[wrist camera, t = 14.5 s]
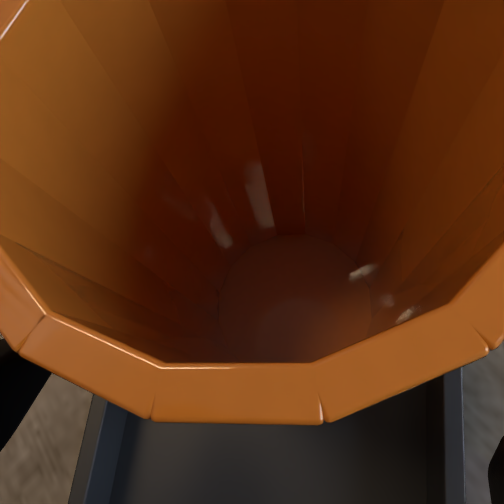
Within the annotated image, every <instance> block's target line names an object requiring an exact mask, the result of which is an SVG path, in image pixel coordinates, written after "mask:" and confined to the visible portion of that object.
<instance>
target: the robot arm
mask: <svg viewBox="0 0 504 504" xmlns="http://www.w3.org/2000/svg"><path fill="white" fill-rule="evenodd" d="M50 375H51V372H49V371H47V370H45V369H43V368H41V367H39V366H37V365H35V364H33V363H31V362H29V361H27V360H25V359H23V358H22V357H21V356H20V355H19V354H18V353H17V352H15V351H13V350H12V348H11V347H10V346H9V344H8V343H7V341H6V340H5V338H4V339H1V340H0V452H1V450H2V449H3V448H4V446H5V445H6V443H7V442H8V441H9V439H10V438H11V436H12V435H13V433H14V432H15V430H16V429H17V427H18V426H19V424H20V423H21V421H22V420H23V418H24V416H25V415H26V413H27V412H28V410H29V408H30V407H31V405H32V404H33V402H34V401H35V399H36V397H37V396H38V394H39V393H40V391H41V389H42V388H43V386H44V385H45V383H46V381H47V380H48V378H49V377H50ZM488 480H489V487H490V495H491V502H492V504H504V436H503V437H502V439H501V441H500V443H499V445H498V447H497V449H496V451H495V453H494V455H493V457H492V460H491V462H490V464H489V468H488Z"/></svg>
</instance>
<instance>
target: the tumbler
mask: <svg viewBox="0 0 504 504" xmlns="http://www.w3.org/2000/svg"><path fill="white" fill-rule="evenodd" d="M0 333H1V334H2V336H3V337H4V338H5V340H6V341H7V343H8V344H9V346H10V347H11V348H12V350H13V351H15V352H17V353H18V354H19V355H20V356H21V357H22V358H23V359H25V360H27V361H29V362H31V363H33V364H35V365H37V366H39V367H41V368H43V369H45V370H47V371H49V372H51V373H53V374H55V375H57V376H59V377H61V378H63V379H65V380H67V381H69V382H71V383H73V384H75V385H77V386H79V387H81V388H83V389H85V390H87V391H89V392H91V393H93V394H95V395H97V396H98V397H100V398H102V399H104V400H106V401H108V402H110V403H112V404H114V405H116V406H118V407H120V408H122V409H124V410H126V411H128V412H130V413H132V414H134V415H136V416H138V417H140V418H142V419H144V420H150V419H151V420H152V421H154V422H156V423H186V424H238V425H290V426H319V425H322V424H323V422H324V421H325V422H326V423H333V422H336V421H338V420H340V419H343V418H345V417H347V416H350V415H352V414H354V413H356V412H359V411H361V410H363V409H366V408H368V407H370V406H373V405H375V404H377V403H380V402H382V401H384V400H386V399H389V398H391V397H393V396H396V395H398V394H400V393H403V392H405V391H407V390H410V389H412V388H414V387H417V386H419V385H421V384H423V383H426V382H428V381H430V380H433V379H435V378H437V377H440V376H442V375H444V374H447V373H449V372H451V371H454V370H456V369H458V368H460V367H463V366H465V365H467V364H470V363H472V362H474V361H477V360H479V359H481V358H484V357H486V355H487V354H488V353H489V351H491V350H494V349H496V348H498V347H499V346H500V344H501V343H502V342H503V341H504V0H0Z"/></svg>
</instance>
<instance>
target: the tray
mask: <svg viewBox="0 0 504 504" xmlns="http://www.w3.org/2000/svg"><path fill="white" fill-rule="evenodd" d="M68 504H466V492H465V457H464V422H463V387H462V367H460V368H458V369H456V370H454V371H451V372H449V373H447V374H444V375H442V376H440V377H437V378H435V379H433V380H430V381H428V382H426V383H423V384H421V385H419V386H417V387H414V388H412V389H410V390H407V391H405V392H403V393H400V394H398V395H396V396H393V397H391V398H389V399H386V400H384V401H382V402H380V403H377V404H375V405H373V406H370V407H368V408H366V409H363V410H361V411H359V412H356V413H354V414H352V415H350V416H347V417H345V418H343V419H340V420H338V421H336V422H333V423H326V422H325V421H324V422H323V424H322V425H319V426H290V425H238V424H186V423H156V422H154V421H152V420H151V419H150V420H144V419H142V418H140V417H138V416H136V415H134V414H132V413H130V412H128V411H126V410H124V409H122V408H120V407H118V406H116V405H114V404H112V403H110V402H108V401H106V400H104V399H102V398H100V397H98V396H97V395H95V394H93V397H92V402H91V406H90V410H89V414H88V419H87V423H86V427H85V432H84V436H83V440H82V445H81V449H80V453H79V457H78V462H77V466H76V470H75V475H74V479H73V483H72V487H71V492H70V496H69V500H68Z"/></svg>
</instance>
